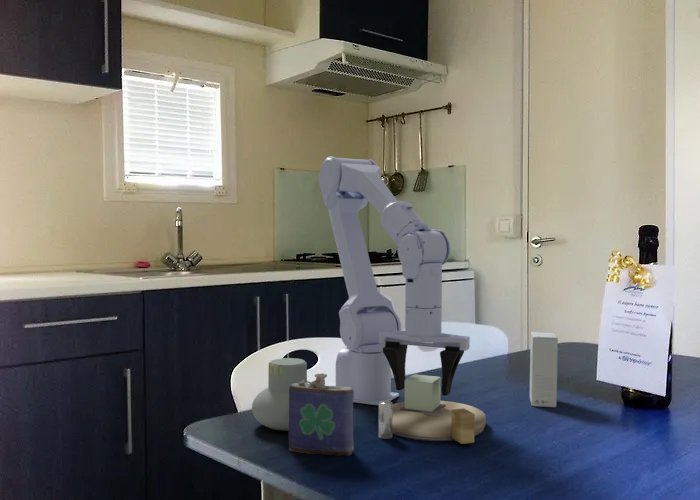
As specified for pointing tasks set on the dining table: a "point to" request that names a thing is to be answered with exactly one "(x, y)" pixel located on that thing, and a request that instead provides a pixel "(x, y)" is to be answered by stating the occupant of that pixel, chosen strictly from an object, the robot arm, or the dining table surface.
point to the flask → (320, 418)
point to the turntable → (439, 421)
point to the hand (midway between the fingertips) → (423, 391)
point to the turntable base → (387, 432)
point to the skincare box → (543, 369)
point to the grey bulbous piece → (278, 392)
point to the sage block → (422, 392)
